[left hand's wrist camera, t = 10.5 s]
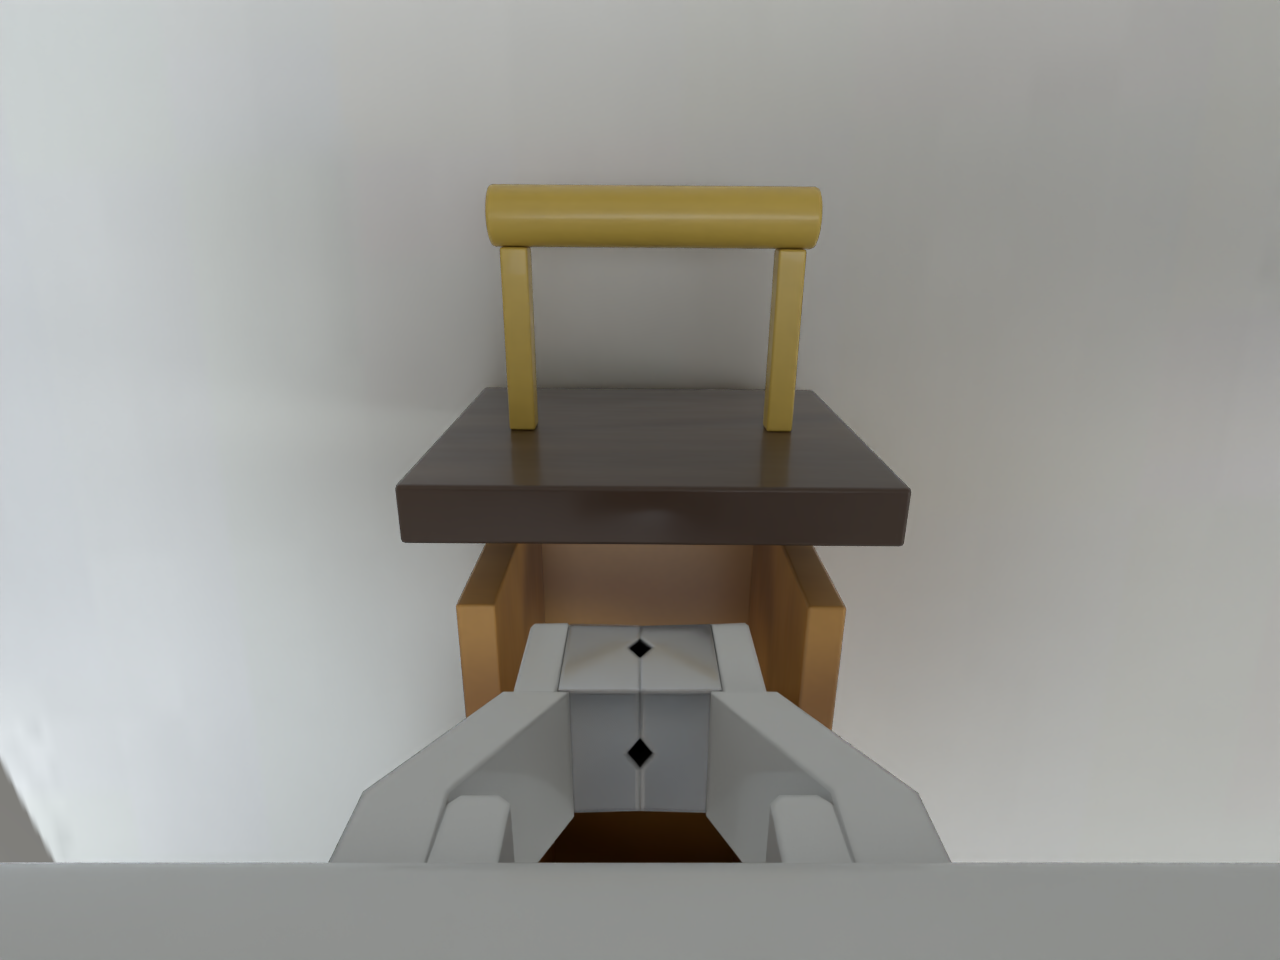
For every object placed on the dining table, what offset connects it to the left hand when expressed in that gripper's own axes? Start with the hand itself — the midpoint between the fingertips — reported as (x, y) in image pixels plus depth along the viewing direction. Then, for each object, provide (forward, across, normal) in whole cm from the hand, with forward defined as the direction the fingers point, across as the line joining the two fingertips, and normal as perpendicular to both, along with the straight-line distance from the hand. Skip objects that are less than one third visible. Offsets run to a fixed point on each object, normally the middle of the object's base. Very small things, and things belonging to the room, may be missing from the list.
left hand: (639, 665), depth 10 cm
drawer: (+12, 0, +6) cm, 13 cm away
